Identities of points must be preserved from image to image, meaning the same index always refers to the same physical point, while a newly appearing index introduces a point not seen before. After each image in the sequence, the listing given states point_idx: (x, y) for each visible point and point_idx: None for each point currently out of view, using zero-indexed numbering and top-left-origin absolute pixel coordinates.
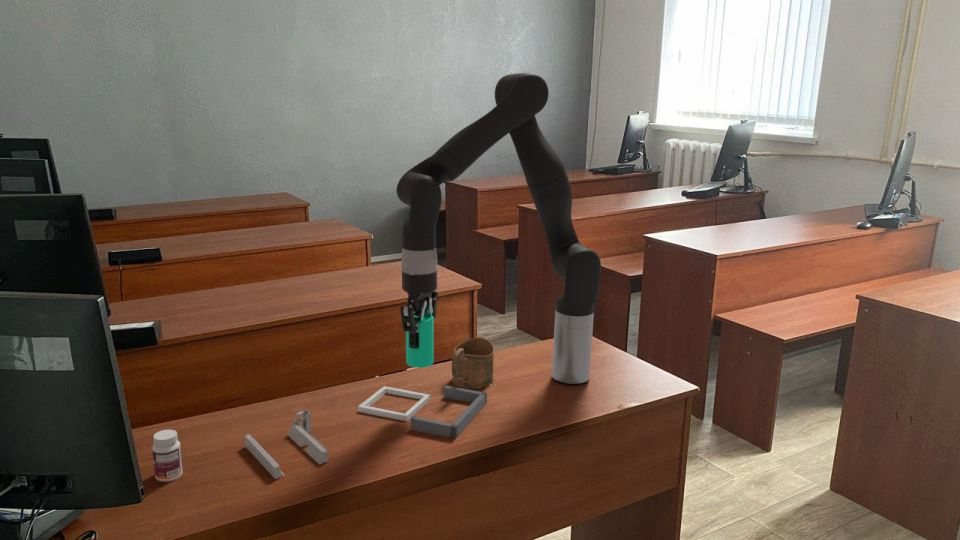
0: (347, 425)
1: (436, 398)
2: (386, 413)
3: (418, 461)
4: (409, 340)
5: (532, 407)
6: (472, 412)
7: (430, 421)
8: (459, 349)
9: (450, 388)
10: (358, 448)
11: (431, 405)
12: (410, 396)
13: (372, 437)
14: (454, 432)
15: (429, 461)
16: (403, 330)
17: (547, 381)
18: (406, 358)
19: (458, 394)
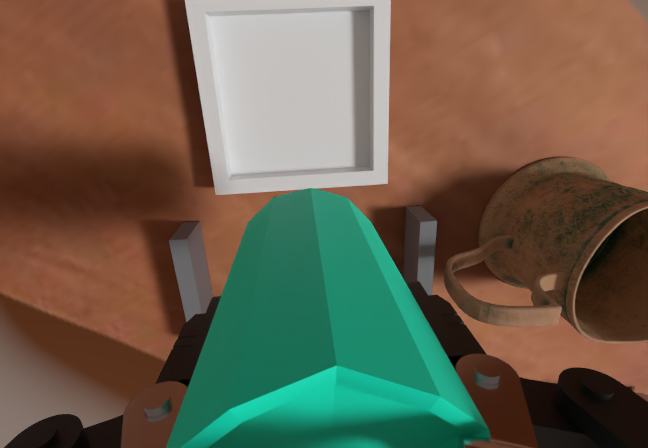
0: (106, 12)
1: (417, 177)
2: (204, 120)
3: (76, 305)
4: (175, 346)
5: None
6: None
7: (185, 296)
8: (543, 315)
9: (420, 242)
10: (16, 139)
11: (367, 187)
12: (371, 115)
13: (96, 138)
14: None
15: (93, 324)
16: (21, 435)
17: (606, 369)
18: (267, 209)
19: (413, 261)
